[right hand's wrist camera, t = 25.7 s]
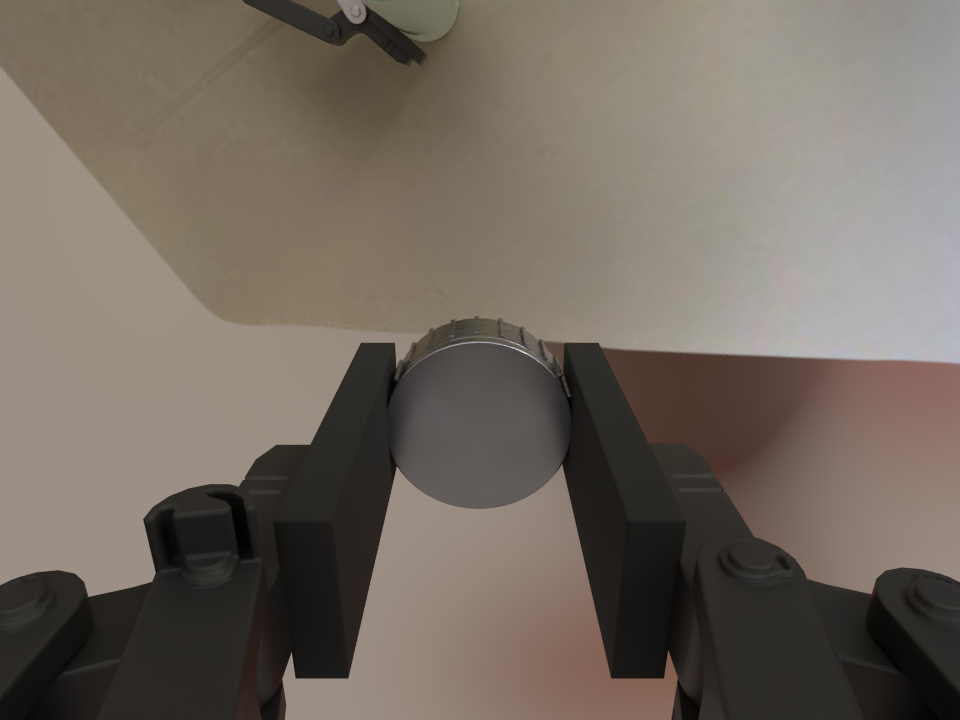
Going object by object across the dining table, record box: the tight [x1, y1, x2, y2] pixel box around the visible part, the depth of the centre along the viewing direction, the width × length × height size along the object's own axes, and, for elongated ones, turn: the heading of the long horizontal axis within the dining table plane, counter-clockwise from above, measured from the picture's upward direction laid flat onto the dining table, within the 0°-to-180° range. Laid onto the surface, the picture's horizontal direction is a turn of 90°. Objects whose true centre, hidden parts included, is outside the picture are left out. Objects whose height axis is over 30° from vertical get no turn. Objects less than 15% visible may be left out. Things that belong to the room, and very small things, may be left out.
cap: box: [387, 316, 572, 509], centre depth 14 cm, size 4×4×2 cm
